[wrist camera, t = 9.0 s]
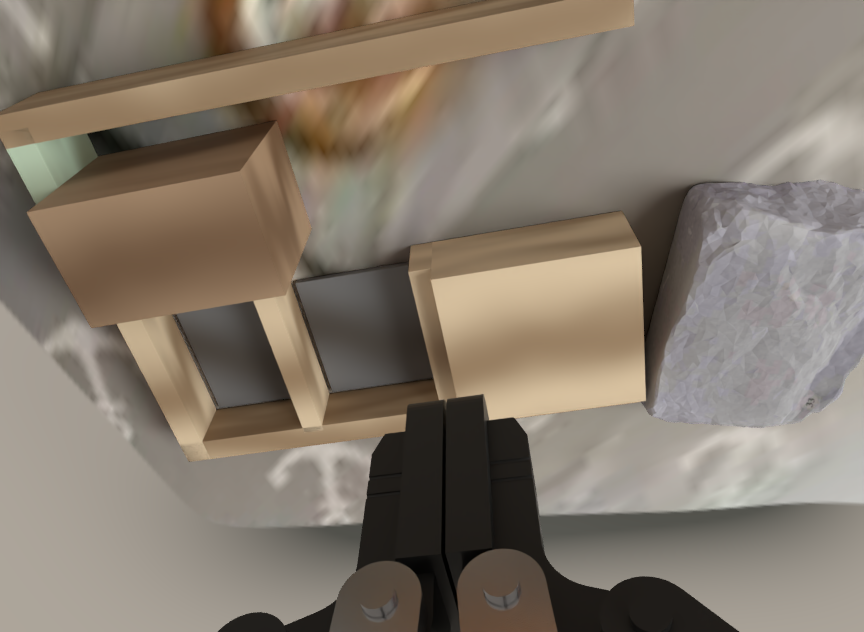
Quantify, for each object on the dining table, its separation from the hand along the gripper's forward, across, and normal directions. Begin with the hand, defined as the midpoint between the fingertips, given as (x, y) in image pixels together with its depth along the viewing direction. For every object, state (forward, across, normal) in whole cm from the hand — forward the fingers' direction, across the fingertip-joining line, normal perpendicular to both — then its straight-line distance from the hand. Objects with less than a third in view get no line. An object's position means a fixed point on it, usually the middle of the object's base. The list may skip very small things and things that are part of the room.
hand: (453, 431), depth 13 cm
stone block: (+18, -13, +10) cm, 24 cm away
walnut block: (+18, +11, +1) cm, 21 cm away
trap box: (+18, +5, +4) cm, 19 cm away
